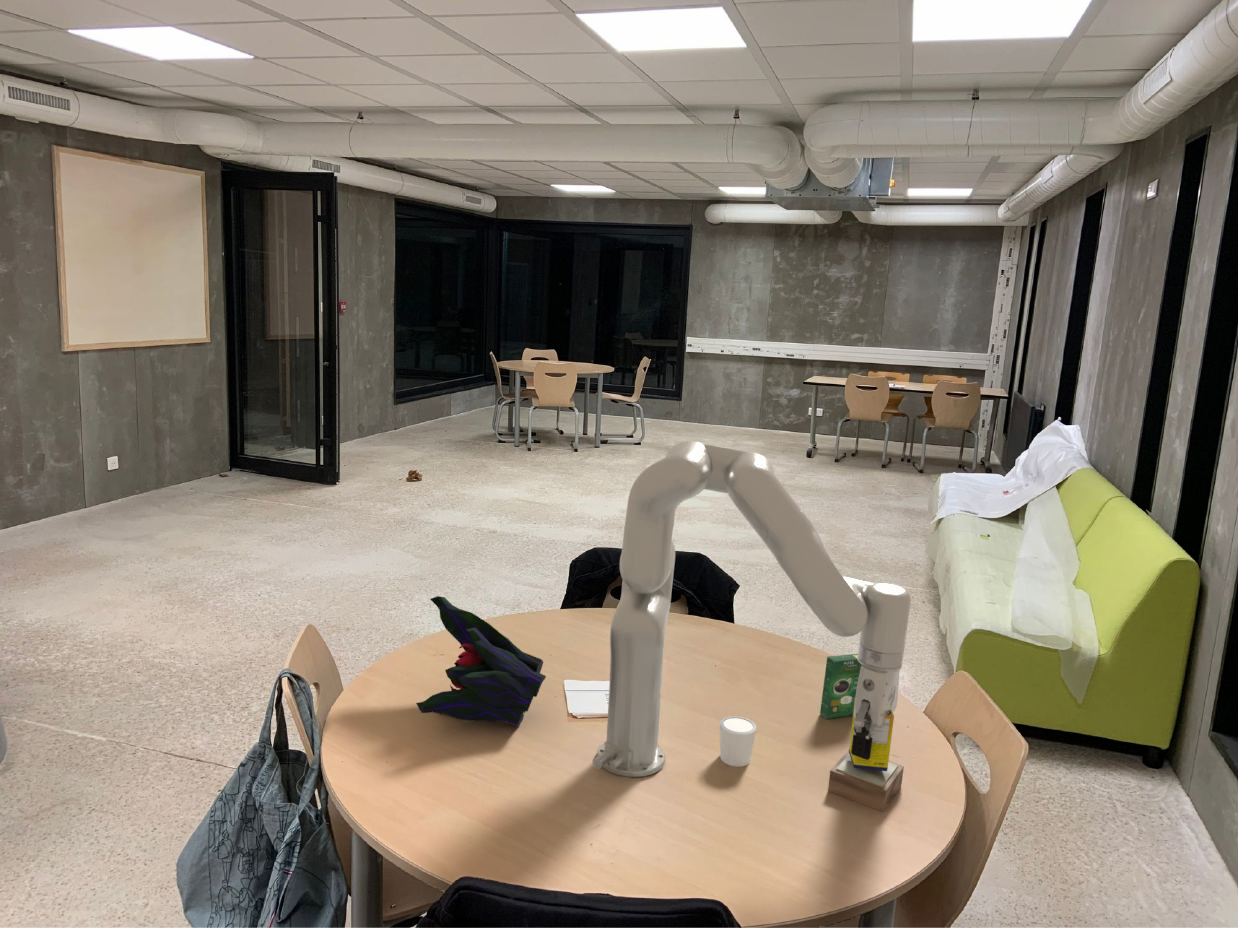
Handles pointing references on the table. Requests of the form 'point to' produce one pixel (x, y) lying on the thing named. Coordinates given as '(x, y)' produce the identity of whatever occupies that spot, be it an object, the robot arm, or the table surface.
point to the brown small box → (865, 783)
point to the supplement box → (875, 745)
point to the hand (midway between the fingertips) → (868, 746)
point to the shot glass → (736, 740)
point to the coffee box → (840, 686)
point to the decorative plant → (484, 672)
